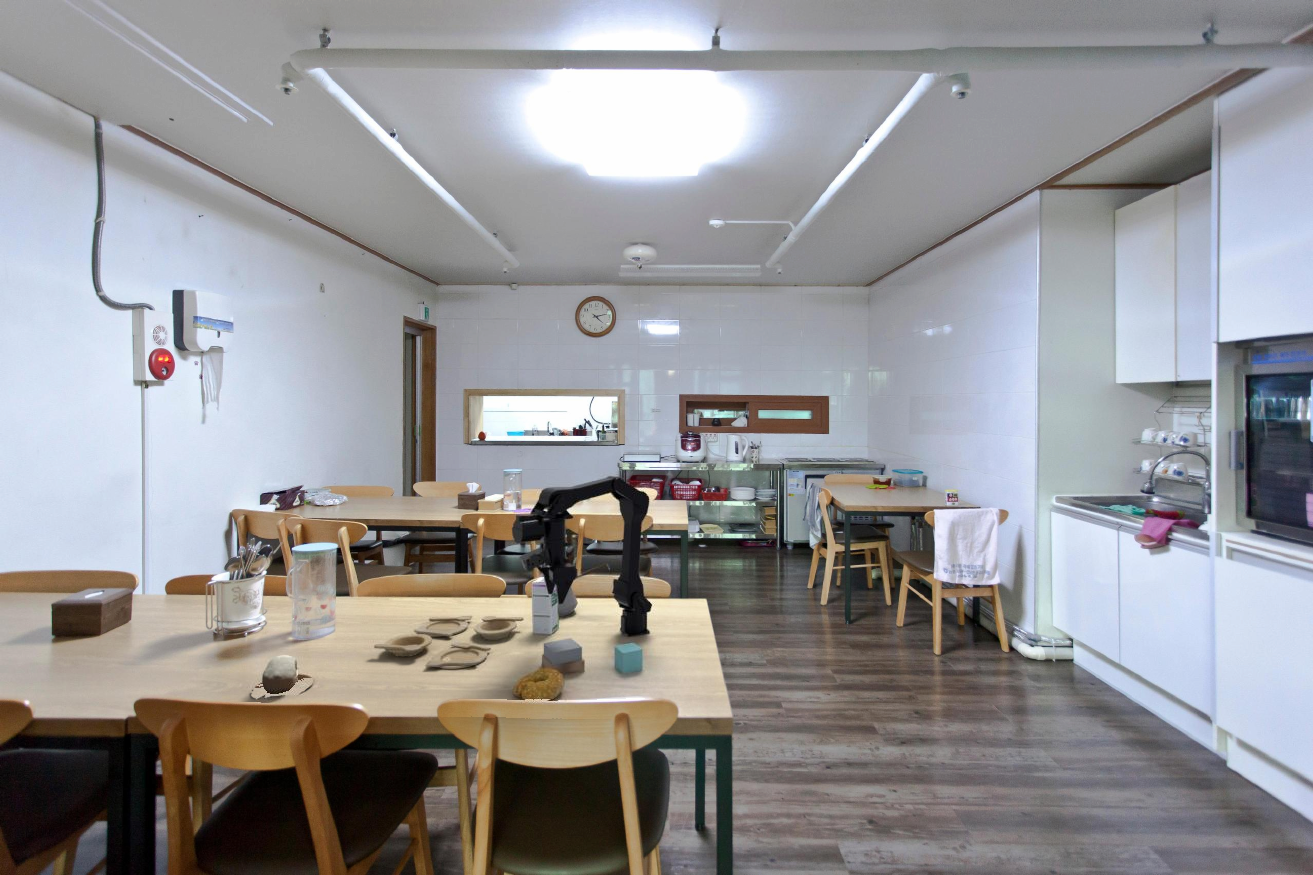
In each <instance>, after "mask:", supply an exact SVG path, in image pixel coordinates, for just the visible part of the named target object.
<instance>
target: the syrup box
mask: <svg viewBox="0 0 1313 875" xmlns="http://www.w3.org/2000/svg"><path fill="white" fill-rule="evenodd" d="M531 614H532V616H531V617H532V618H531V619H532V633H533V634H538V635H549V636H550V635H551V636H552V635H553V633H554V632H555V631H556V630H558V629H559V628H560V624H559V622H560V621H559V620H560V619H559V618H560V616H559V613H558V599H557V593H556V587H554V591H553V593H552V594H548V591H547V588H546V584H545V580H544V577H543V576H542V577H541V576H540V577H538V578H537V579H536V580H534V581H532V582H531Z"/></svg>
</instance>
